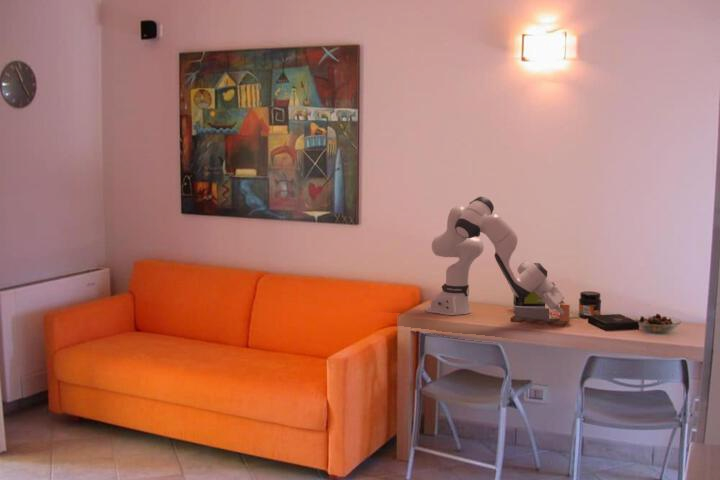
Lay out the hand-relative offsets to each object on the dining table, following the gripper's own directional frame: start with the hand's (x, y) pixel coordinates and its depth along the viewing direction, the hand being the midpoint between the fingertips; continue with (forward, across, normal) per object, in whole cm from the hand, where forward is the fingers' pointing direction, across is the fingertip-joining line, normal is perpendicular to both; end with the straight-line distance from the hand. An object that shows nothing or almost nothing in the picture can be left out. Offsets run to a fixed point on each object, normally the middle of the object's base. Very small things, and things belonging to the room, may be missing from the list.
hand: (565, 311), depth 367 cm
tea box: (-11, +21, +20) cm, 31 cm away
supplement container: (+10, +21, -1) cm, 23 cm away
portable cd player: (+20, +6, -10) cm, 23 cm away
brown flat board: (-4, 0, +13) cm, 13 cm away
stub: (+3, 0, +3) cm, 4 cm away
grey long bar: (-8, 0, +14) cm, 16 cm away
